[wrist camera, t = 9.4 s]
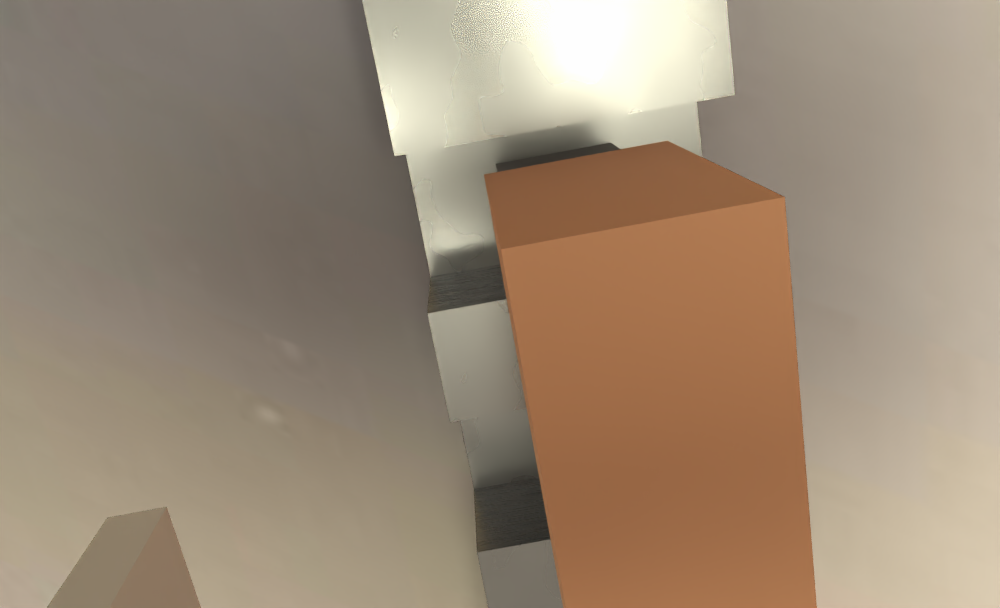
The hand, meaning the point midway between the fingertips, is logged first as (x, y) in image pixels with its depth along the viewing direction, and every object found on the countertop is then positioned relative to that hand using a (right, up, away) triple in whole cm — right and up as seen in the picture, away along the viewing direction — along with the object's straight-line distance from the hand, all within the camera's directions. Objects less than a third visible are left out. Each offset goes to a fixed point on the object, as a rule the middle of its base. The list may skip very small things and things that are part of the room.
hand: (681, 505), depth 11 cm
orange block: (0, +2, +11) cm, 11 cm away
